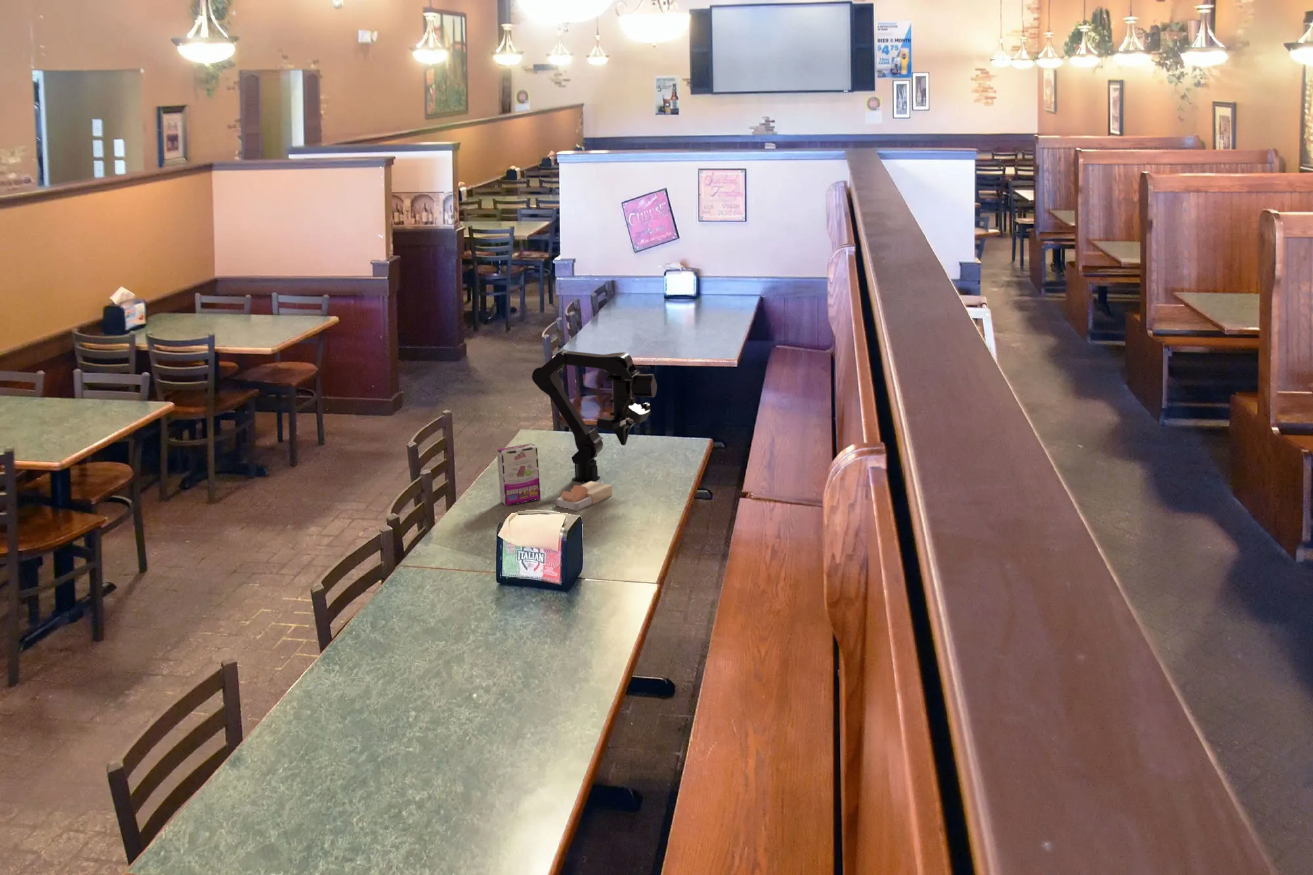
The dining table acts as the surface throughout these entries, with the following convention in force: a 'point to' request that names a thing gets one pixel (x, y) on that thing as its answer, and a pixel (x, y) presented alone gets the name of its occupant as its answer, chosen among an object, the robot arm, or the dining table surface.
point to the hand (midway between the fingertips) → (623, 444)
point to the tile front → (569, 496)
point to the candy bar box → (518, 474)
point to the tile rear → (580, 491)
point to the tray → (574, 503)
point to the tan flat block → (597, 491)
